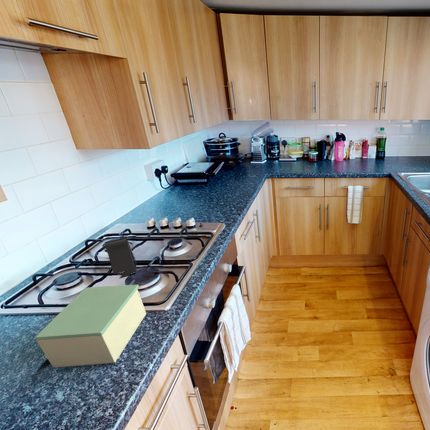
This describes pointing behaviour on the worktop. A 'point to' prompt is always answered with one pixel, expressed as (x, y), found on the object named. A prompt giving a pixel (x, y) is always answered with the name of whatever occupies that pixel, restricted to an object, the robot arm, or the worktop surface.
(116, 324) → the box
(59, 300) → the worktop surface
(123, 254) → the phone stand
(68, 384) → the worktop surface
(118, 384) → the worktop surface
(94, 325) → the lid
